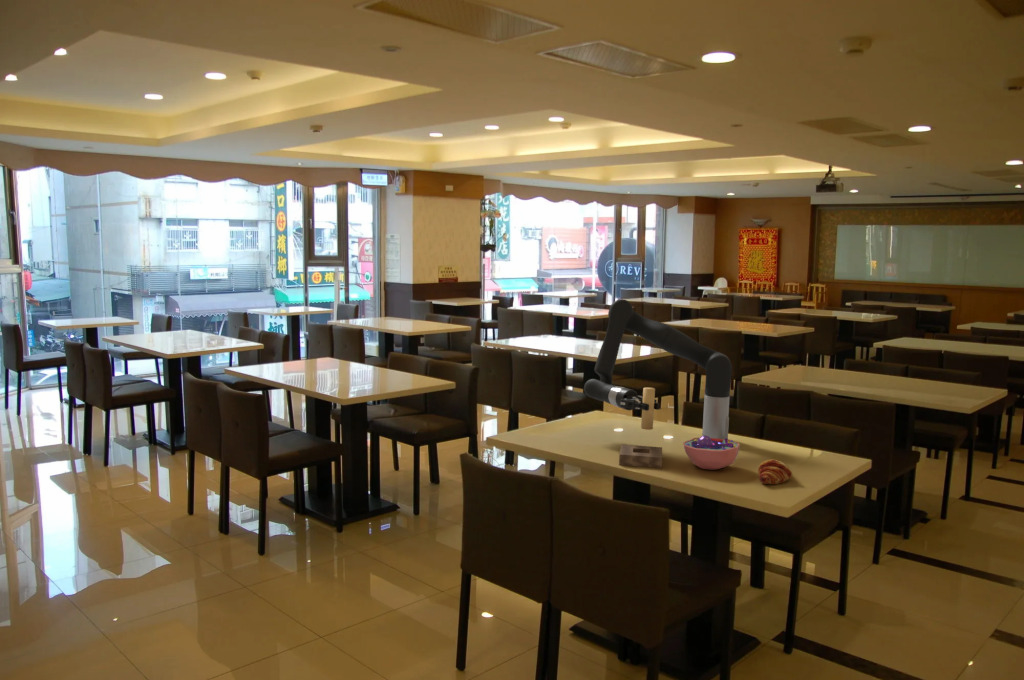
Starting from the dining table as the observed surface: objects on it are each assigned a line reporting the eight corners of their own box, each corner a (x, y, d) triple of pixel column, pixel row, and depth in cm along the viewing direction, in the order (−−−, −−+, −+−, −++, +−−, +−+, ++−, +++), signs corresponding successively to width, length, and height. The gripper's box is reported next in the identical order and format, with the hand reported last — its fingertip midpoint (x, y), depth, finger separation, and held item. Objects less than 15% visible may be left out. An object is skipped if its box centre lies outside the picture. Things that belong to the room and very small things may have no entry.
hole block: (661, 457, 265) (662, 447, 265) (661, 467, 251) (662, 457, 251) (621, 454, 268) (621, 444, 267) (619, 464, 254) (619, 454, 254)
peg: (652, 427, 266) (655, 387, 264) (652, 430, 262) (654, 389, 261) (641, 426, 267) (643, 387, 265) (640, 429, 263) (643, 389, 261)
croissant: (774, 480, 253) (764, 457, 254) (803, 471, 247) (792, 448, 249) (754, 494, 235) (744, 470, 237) (785, 485, 230) (774, 460, 231)
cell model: (751, 470, 251) (753, 437, 250) (706, 478, 241) (708, 443, 240) (714, 458, 266) (716, 426, 264) (670, 464, 256) (672, 431, 254)
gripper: (607, 388, 272) (637, 397, 257) (639, 386, 279) (670, 395, 264) (606, 409, 273) (636, 419, 258) (638, 406, 280) (669, 416, 265)
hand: (653, 407), depth 261 cm, fingers closed on peg, 4 cm apart
